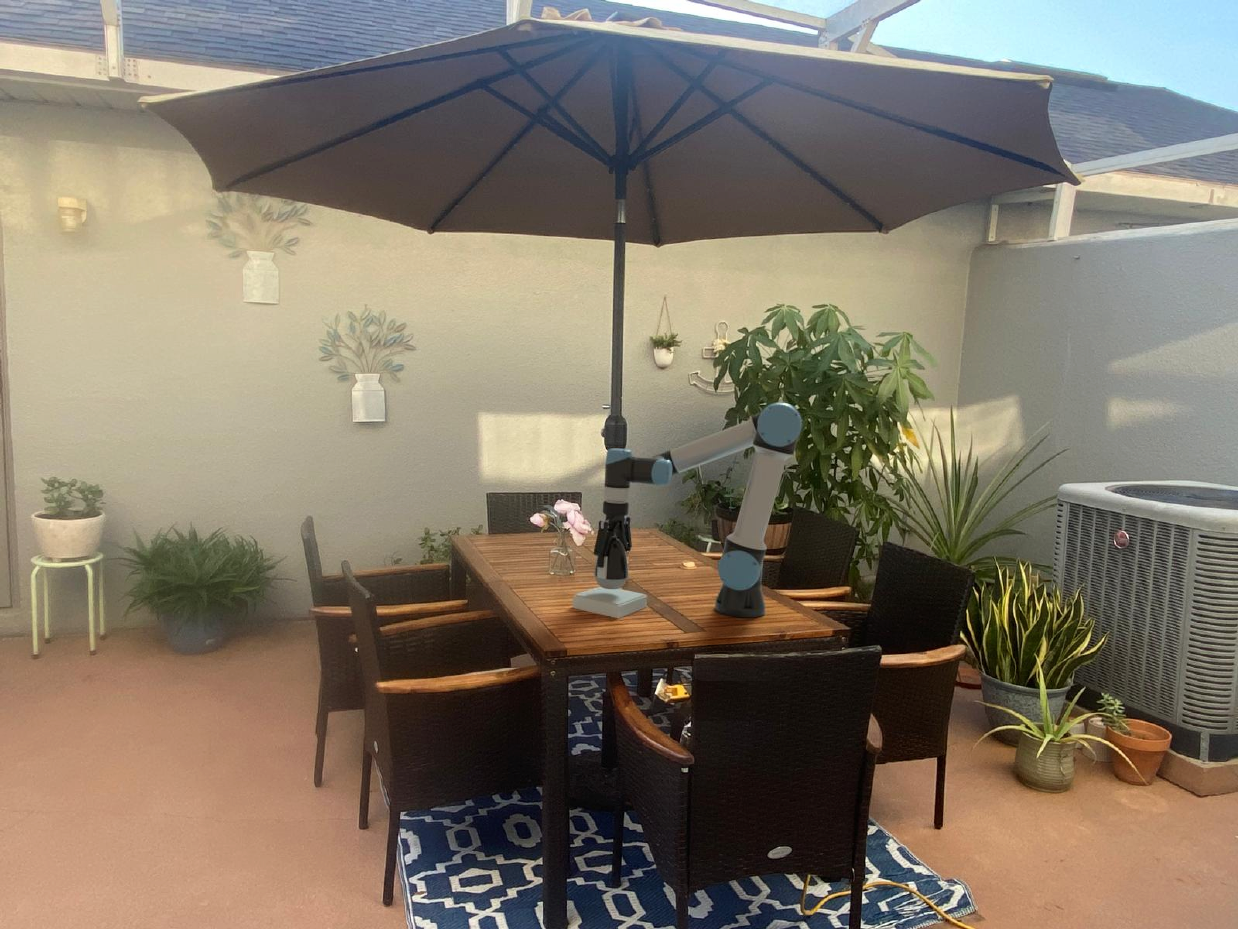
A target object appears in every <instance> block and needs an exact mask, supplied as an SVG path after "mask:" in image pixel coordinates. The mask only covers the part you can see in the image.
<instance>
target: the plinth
mask: <svg viewBox="0 0 1238 929" xmlns="http://www.w3.org/2000/svg"><path fill="white" fill-rule="evenodd" d="M647 604H648V595H647V594H645V593H641V592H636V591H631V590H627V589H621V588H618V589H605V588H602V587H601V586H598V587H594V588H591V589H589V590H585V591H582V592H578V593H575V594H574V595H573V596H572V609H576V610H580V611H584V612H589V613H593V614H596V615H602V616H607V617H609V616H610V618H615V619H620V618H623V617H626V616H628V615H631V614H634V613H635V612H638V611H641V610H644V609H646V608H647V607H648V606H647Z"/></svg>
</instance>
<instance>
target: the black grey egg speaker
mask: <svg viewBox="0 0 1238 929" xmlns="http://www.w3.org/2000/svg"><path fill="white" fill-rule="evenodd" d="M606 557H608V558H607V574H606V579H602V578H597V571H598V556H597V558H596V562H595V566H594V572H593V575H594V577H595V581H596V583H597V584H598V587H600V586H601V587H602V588H605V589H621V588H622V587H624V585H625V584H626V583H627V580H628V578H629V565H628V563H629V562H628V558H627V557H626V552H625V549H624V546H623V544H622V542H621V540H620V539H618V538H617V536H613V537H612V540H611V542H610V545H609V548H608V551H607V554H606Z"/></svg>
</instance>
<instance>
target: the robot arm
mask: <svg viewBox="0 0 1238 929" xmlns="http://www.w3.org/2000/svg"><path fill="white" fill-rule="evenodd" d="M802 428H803V420H802V415H801V413H800V411H799V410H798V408H796V406H794V405H792V404H791V403H788V402H781V401H779V402H773V403H771V404H769V405H767V406H766V407H764V408H763V409H762V411H760V412H758V413H756V414H754V415H750V416H749V419H748V420H747V421H744V422H741V423H739V424H738V423H737V424H736V425H733V426H731V427H728V428H726V429H722V430H720V431H717V432H715V433H712V434H710V435H707V436H704V437H702V438H699V439H695V440H693V441H691V442H688V443H686V444H684V445H681V446H679V447H676V448H673V449H670V450H667V451H665V452H662V453H659V454H656V455H653V456H652V457H647V458H646V457H636V456H633V451H632V449H629V448H628V449H627V448H615V447H614V448H608V450H607V452H606V459H605V463H604V466H605V468H604V489H603V491H604V492H603V500H604V501H603V503H602V504H603V505H602V514H603V515H605V519H604V520H599V522H598V531H597V535H596V538H595V539H596V540H595V544H594V549H593V555H594V556H597V557H598V571H597V578H602V579H606V574H607V558H608V557H606V554H607V551H608V548H609V545H610V542H611V540H612V537H616V538H618V539H620V540H621V542H622V544H623V546H624V549H625V552H626V557H627V556H628V552H631V548H633V547H632V546H633V545H632V534H631V533H632V532H631V526H630V525H631V517H630V516H627V515H628V514H629V507H630V504H629V500H630V493H631V491H630V488H631V485H630V484H631V483H632V484H635V483H637V484H644V485H647V484H648V485H655V486H669V485H670V483H671V481H672V477H673V476H675V475H678V474H680V473H683V472H686V471H689V470H691V469H694V468H697V467H699V466H703V465H705V464H708V463H711V462H713V461H716V460H719V459H721V458H724V457H728V456H730V455H732V454H735V453H738V452H741V451H744V450H747V449H749V448H751V447H752V448H754V450H755V455H754V459H753V462H752V466H751V470H750V473H749V476H748V480H747V485H746V488H745V491H744V494H743V497H742V498H743V499H742V502H741V505H740V509H739V511H738V512H739V514H738V517H737V520H736V524H735V527H734V531H733V532H732V533H730V534H729V535H727V536H726V538H725V541H724V546H723V547H724V548H723V551H722V554H721V558H720V559H719V561H718V564H717V573H718V577H719V579H720V581H721V582H722V584H721V587H720V589H719V592H718V594H717V595H716V599H715V603H714V610H716V612H718V613H721V614H723V615H726V616H731V617H738V618H757V617H762V616H764V615H765V613H766V602H765V599H764V596H763V590H762V579H763V578H762V577H763V569H764V568H763V564H764V560H765V555H766V553H767V545H766V543H765V536H766V532H767V529H768V525H769V522H770V518H771V514H772V511H773V508H774V504H775V501H776V498H777V497H776V496H777V494H778V490H779V486H780V484H781V483H780V482H781V479H782V476H783V472H784V469H785V465H786V462H787V460H788V459H790V458H792V457H793V456H794V454H795V450H796V447H797V444H798V439H799V436H800V434H801V432H802ZM615 535H616V536H615Z"/></svg>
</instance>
